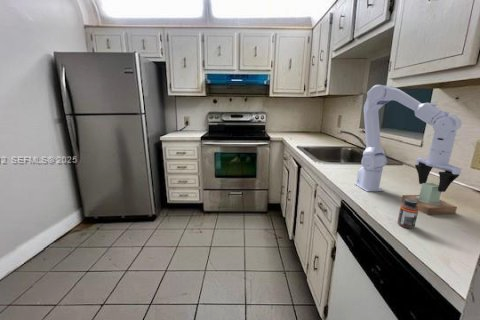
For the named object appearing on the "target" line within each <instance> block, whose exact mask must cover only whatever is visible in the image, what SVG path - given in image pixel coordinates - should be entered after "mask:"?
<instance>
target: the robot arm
mask: <svg viewBox="0 0 480 320" xmlns="http://www.w3.org/2000/svg"><path fill="white" fill-rule="evenodd" d="M390 101H395V102H398V103H399V104H401V105H403V106H404V107H407V108H408V109H411V110H412V111H414V117H416V118H418V119H419V120H421V121H423V122H424V123H426V124H428V125H429V126H430V127H432V128H433V131H434V133H433V137H432V140H431V144H430V150H429V153H428V157H427V158H423V157H417V158H416V162H415V163H416V164H415V165H414V166H415V169H416V171H417V172H416V173H417V176H418V184H419V185H422V183H428V182H427V181H428V178H429V175H430V173H431V172H432V171H431V170H432V169H438V170H440V171H438V174H439V175H438V176H439V183H438V185H439V187H438V191H439V192H441V193H445V192H447V189H448V188H449V186H451V184H452V183H453V182H454V181H455V180H456V179H457V178H458V177H459V176H460V175H461V173H462V172H461V171H462V168H461V167H460V168H459V167H457V166H454V165H453V164H450V161H451V160H450V159H451V156H452V152H453V150H454V149H453V148H454V144H455V141H456V135H457V131H458V130H459V129H460V128H461V127H462V120H461V119H460V118H459V117H458V116H457V115H456V114H454V115H453V114H450V111H448V110H445V111H444V110H442V108H439V107H437V104H436V103H434V102H431V103H430V102H424V103H422V102H420V101H419V100H418V99H416V98H415V97H412V96H411V95H409V94H408V93H406V92H405V91H403V90H401V89H399V88H396V87H394V86H392V85H383V84H375V85H373V86H371V88H370V89H369V90H368V91H367V92H366V99H365V102H364V104H363V121H364V134H365V145H366V147H365V149H364V150H363V152H362V157H361V167H360V168H358V169H359V170H358V171H357V176H356V182H355V183H353V184H354V185H355V186H357V187H359V188H360V189H362V190H364V191H366V192H384V191H385V189H383V188H380V184H381V180H382V174H383V168H384V167H385V166H386V165H387V163H388V159H387V157H386V155H385V150H384V149H383V147H382V146H381V144H382V143H381V129H380V119H379V110H380V109H381V108H382V107H383V106H384V105H385V104H388V103H389V102H390Z"/></svg>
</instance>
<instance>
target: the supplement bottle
mask: <svg viewBox="0 0 480 320" xmlns="http://www.w3.org/2000/svg"><path fill="white" fill-rule="evenodd" d="M416 205H417V201H415V200H413V199H405V202H402V203H401V204H400V208H399V214H398V218H397V224H398V225H399V226H401V227H402V228H405V229H414V228H415V226H416V223H417V218H418V214H419V208H418V207H417V206H416Z"/></svg>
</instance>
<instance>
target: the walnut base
mask: <svg viewBox="0 0 480 320" xmlns="http://www.w3.org/2000/svg"><path fill="white" fill-rule="evenodd" d="M419 196H420V194H403V195H402V197H401V198H402V199H401V202H402V203H404V202H405V199H413V200H415V201H417V205H416V206H417V207H418V208H419V210H418V212H421V213H424V214H425V215H426V216H427V215H450V214H456V213H457V209H458V208H457V207H458V206H455V205H454V204H451V203H449V202H446V201H444V200H442V199H441V198H440V199H439V202H438V203H428V202H426V201H424V200H422V199H419Z"/></svg>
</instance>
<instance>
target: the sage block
mask: <svg viewBox="0 0 480 320" xmlns="http://www.w3.org/2000/svg"><path fill="white" fill-rule="evenodd" d="M438 187H439V184H436V183H434V182H426V183H422V184H421V187H420V192H419V195H420V196H419V199H422V200H424V201H426V202H428V203H438V202H439V199H440V200H441V194H442V192H439V191H438Z"/></svg>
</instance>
